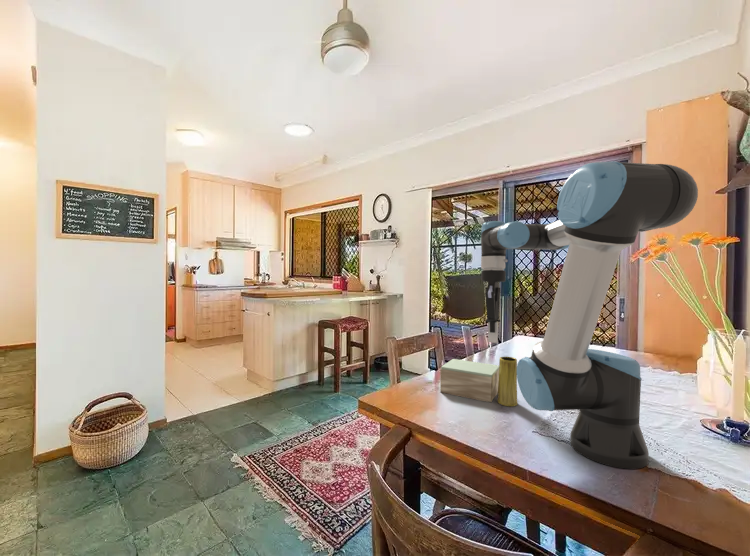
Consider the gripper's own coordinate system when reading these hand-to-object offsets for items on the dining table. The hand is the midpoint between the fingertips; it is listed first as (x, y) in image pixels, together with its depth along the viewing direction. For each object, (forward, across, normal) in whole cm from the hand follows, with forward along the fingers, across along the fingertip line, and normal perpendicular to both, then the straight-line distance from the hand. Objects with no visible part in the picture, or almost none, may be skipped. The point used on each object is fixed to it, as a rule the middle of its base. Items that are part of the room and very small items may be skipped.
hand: (493, 342), depth 111 cm
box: (+19, +5, +8) cm, 21 cm away
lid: (+11, +5, +8) cm, 14 cm away
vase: (+19, 0, -4) cm, 20 cm away
